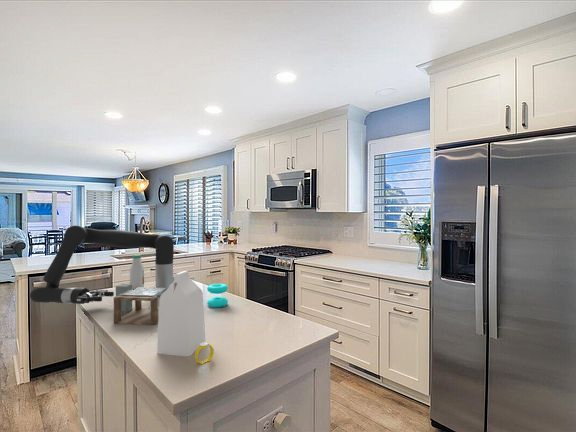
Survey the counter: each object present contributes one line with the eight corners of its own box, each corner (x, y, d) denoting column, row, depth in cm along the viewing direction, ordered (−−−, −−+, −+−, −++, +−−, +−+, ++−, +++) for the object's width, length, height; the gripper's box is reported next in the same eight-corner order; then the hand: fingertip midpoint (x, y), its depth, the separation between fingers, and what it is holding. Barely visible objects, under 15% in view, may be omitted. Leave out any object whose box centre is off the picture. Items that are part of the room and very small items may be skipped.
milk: (188, 356, 105) (188, 276, 105) (157, 353, 108) (156, 275, 107) (205, 341, 117) (205, 269, 117) (176, 339, 119) (176, 268, 119)
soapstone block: (122, 308, 156) (122, 283, 155) (132, 309, 155) (132, 284, 155) (115, 312, 151) (115, 286, 150) (126, 312, 150) (125, 286, 150)
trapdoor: (114, 301, 138) (114, 294, 138) (132, 293, 151) (132, 287, 151) (152, 303, 136) (152, 295, 136) (167, 294, 150) (167, 287, 150)
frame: (113, 323, 136) (113, 297, 135) (137, 310, 154) (137, 286, 153) (155, 324, 134) (155, 298, 134) (174, 311, 152) (174, 287, 152)
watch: (198, 367, 99) (197, 348, 98) (193, 364, 100) (192, 346, 100) (215, 359, 103) (214, 341, 102) (210, 357, 105) (209, 339, 104)
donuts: (218, 282, 169) (232, 284, 163) (218, 301, 169) (232, 304, 163) (203, 285, 161) (216, 288, 155) (203, 305, 161) (216, 309, 155)
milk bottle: (140, 289, 192) (140, 256, 192) (127, 289, 192) (127, 256, 192) (146, 286, 200) (146, 254, 199) (133, 286, 200) (133, 254, 199)
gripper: (63, 291, 148) (97, 292, 146) (85, 284, 162) (116, 285, 161) (63, 308, 148) (97, 308, 146) (86, 299, 162) (116, 300, 161)
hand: (107, 296), depth 154 cm, fingers open, 8 cm apart
